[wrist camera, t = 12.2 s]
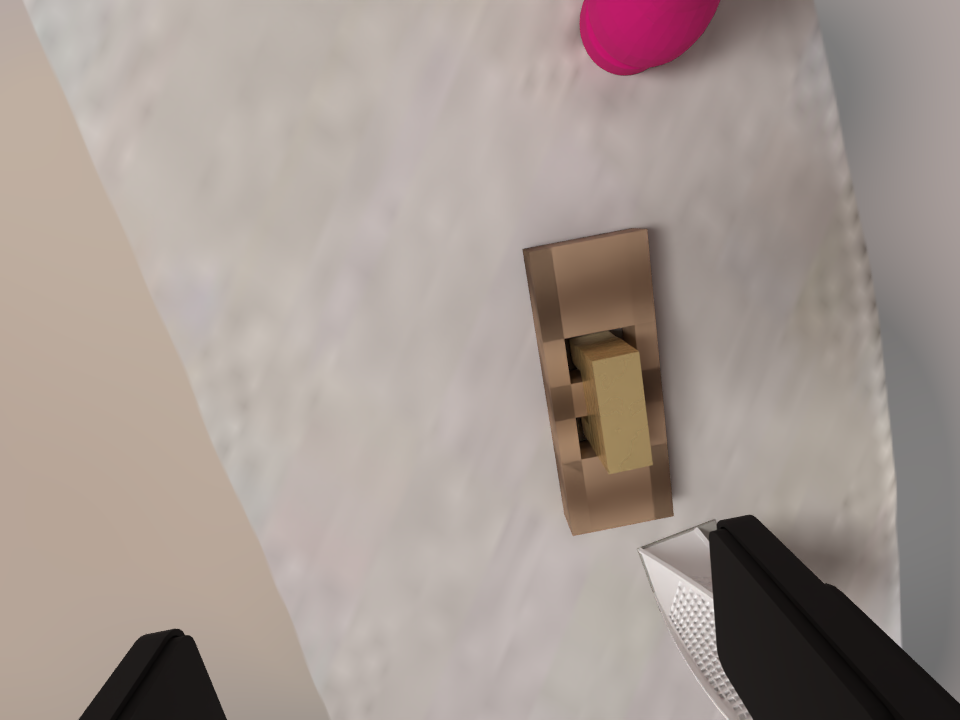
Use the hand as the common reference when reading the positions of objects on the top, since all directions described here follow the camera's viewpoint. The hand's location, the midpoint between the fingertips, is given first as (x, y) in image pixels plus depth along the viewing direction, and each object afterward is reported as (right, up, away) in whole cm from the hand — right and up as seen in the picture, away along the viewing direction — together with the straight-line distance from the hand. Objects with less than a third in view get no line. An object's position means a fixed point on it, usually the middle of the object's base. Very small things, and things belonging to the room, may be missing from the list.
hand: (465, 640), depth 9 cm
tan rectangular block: (+9, +3, +31) cm, 32 cm away
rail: (+9, +3, +31) cm, 33 cm away
